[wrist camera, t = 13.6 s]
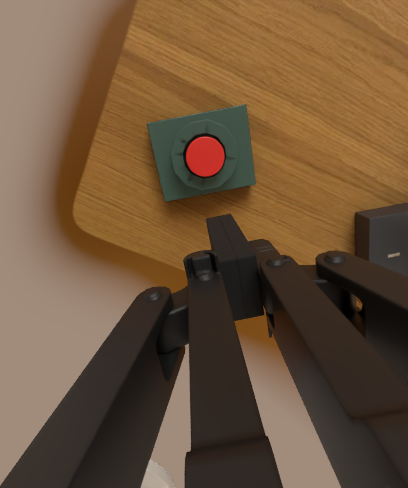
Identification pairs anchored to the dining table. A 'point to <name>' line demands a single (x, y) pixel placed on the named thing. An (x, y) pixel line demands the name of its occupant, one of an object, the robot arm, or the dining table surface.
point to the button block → (187, 130)
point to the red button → (205, 156)
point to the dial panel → (384, 237)
